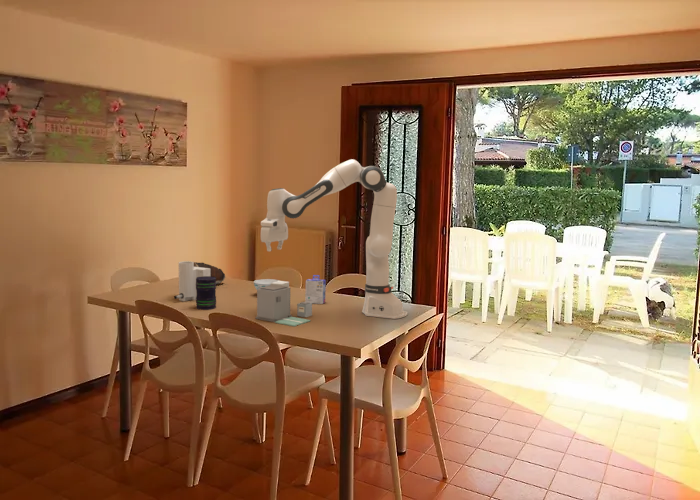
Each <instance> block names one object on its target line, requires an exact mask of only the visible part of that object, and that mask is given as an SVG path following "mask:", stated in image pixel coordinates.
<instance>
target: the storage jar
mask: <svg viewBox="0 0 700 500" xmlns="http://www.w3.org/2000/svg"><path fill="white" fill-rule="evenodd" d="M216 289H217V284H216V277H211V276H203V277H197V278H196V290H197V297H196V300H195V306H196V307H195V308H196V309H197V310H200V309H201V310H202V311H210V310H214V309H217V296H216V295H217V294H216Z"/></svg>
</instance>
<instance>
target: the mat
mask: <svg viewBox="0 0 700 500" xmlns="http://www.w3.org/2000/svg"><path fill="white" fill-rule="evenodd" d="M310 322H311V319H306V318H303V317H298V316H297V317H295V316H292V317H288V318H285V319H282V320H278V321H275V322H274V323H275V324H280V325H285V326H289V327H298V326H300V325H304V324H306V323H310ZM297 325H298V326H297Z"/></svg>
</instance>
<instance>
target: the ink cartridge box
mask: <svg viewBox="0 0 700 500" xmlns="http://www.w3.org/2000/svg"><path fill="white" fill-rule="evenodd" d="M320 276H321V275H319V274H313V275H312V278H308V279H306V280H305V294H304V296H305V298H304V299H305V301H304V302H309V303H312V304H317V305H318V304H319V305H320V304H321V305H323V304H325V303H326V287H327V286H326V285H327V283H326V282H327V281H326V279H320V278H321V277H320Z"/></svg>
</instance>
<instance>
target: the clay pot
mask: <svg viewBox="0 0 700 500" xmlns="http://www.w3.org/2000/svg"><path fill="white" fill-rule="evenodd" d="M193 262H194V267H201V268H210V276H211V277H216V285H217V284H221V283H222V282H224V281H225V279H226V275H225V273H224V271H223V270H222V269H221V268H219V267H217V266H214V265H211V264H208V263H205V262H195V261H193Z"/></svg>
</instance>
